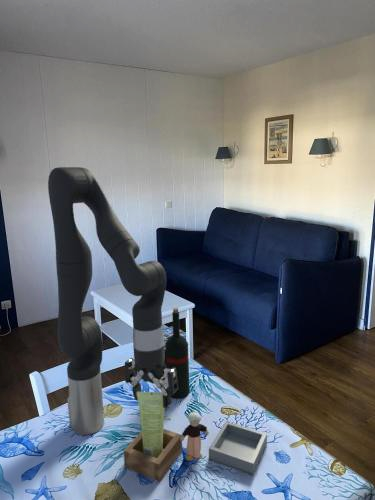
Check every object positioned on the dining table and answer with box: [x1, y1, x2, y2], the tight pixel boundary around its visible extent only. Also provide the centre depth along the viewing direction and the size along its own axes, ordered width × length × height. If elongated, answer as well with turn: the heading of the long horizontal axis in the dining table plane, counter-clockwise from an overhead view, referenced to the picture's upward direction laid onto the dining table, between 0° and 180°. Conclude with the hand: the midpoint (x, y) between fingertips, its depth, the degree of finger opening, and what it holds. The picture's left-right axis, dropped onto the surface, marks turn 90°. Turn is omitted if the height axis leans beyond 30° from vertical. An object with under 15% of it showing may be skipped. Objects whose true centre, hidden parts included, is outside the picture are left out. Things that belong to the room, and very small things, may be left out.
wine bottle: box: [164, 307, 191, 400], centre depth 125 cm, size 8×10×30 cm
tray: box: [208, 421, 268, 477], centre depth 100 cm, size 12×12×4 cm
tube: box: [137, 391, 165, 458], centre depth 97 cm, size 6×5×20 cm
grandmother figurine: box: [180, 411, 210, 462], centre depth 99 cm, size 8×4×13 cm, turn 117°
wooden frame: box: [123, 428, 183, 483], centre depth 98 cm, size 10×12×5 cm
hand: (152, 402), depth 95 cm, fingers open, 8 cm apart
